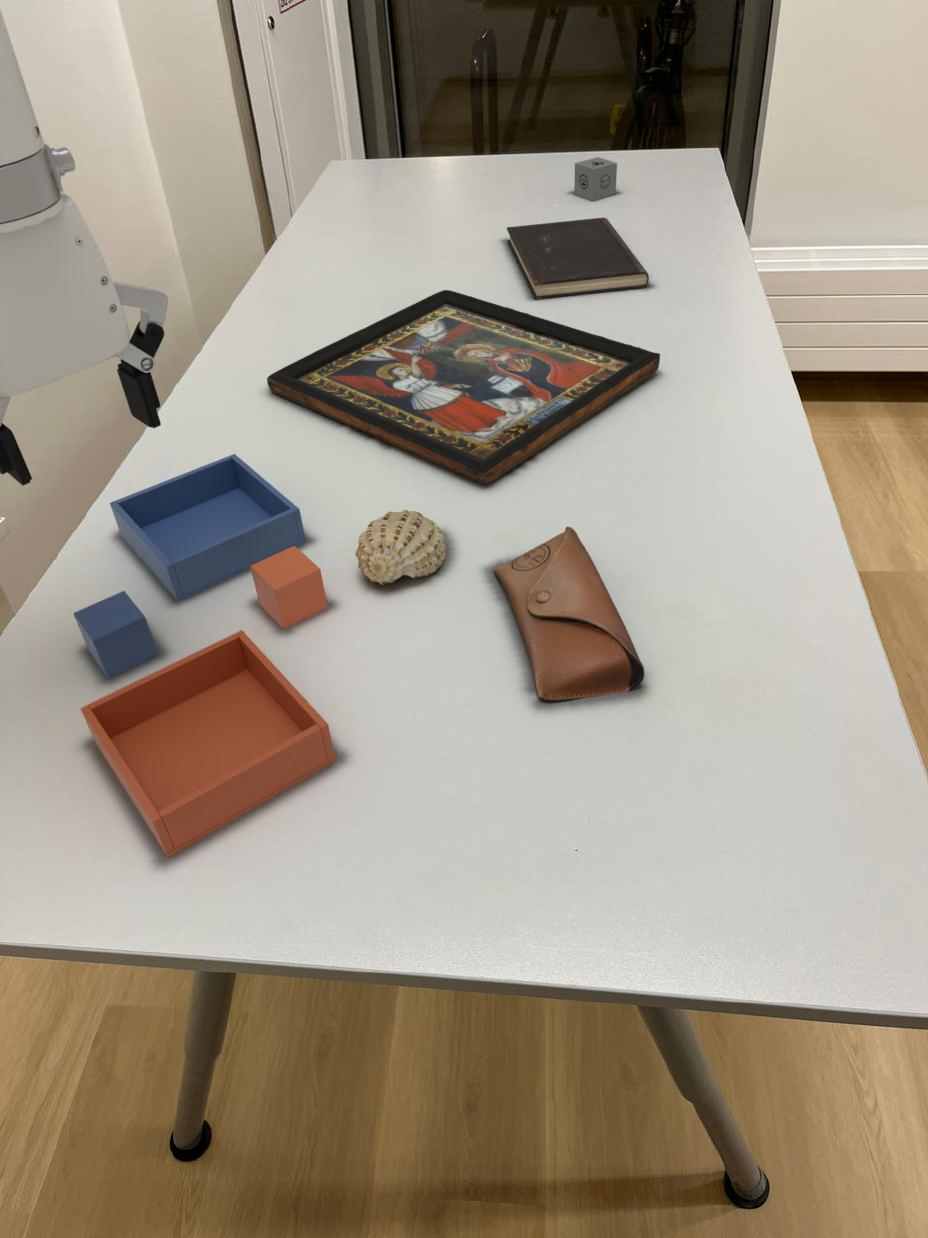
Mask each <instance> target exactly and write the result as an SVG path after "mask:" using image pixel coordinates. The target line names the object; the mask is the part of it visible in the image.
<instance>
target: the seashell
mask: <svg viewBox="0 0 928 1238" xmlns="http://www.w3.org/2000/svg"><path fill="white" fill-rule="evenodd" d="M357 542H358V547H357V548H356V550H355V557H356V559H357V561H358V569H360V570H361V574H362V575H365V576H366V577H367V578H368V579H369V580H370V582H371V583H377V584H379V585H382V586H384V585H386V584H392V583H394V582H395V581H397V580H398V579H400V578H401V577H402V576H408V577H410V578H413V579H415V578H420V577H426V576H429V575H431V574H433V573H435V572H436V571H437V570H438V569H440V567H441V566H442V565H443V563H444V562H445V559H446V555H447V545H446V541H445V536H444V534H443V533H442V531H441V528H440V526H439V525H438V524H437V523H436V522H435V521H433V520H432V519H430V518H428V517H426V516H424V515H423V514H422V513H421V512H420V511H416V510H411V511H409V510H407V509H404V510H401V511H388V512H386V513H385V514H384V515H383V516H380V517H379V518H377V519H374V520H372V521H370V522H369V523H368V525H367V528H366V529H365V530H364V531H363V532H362V533H361V534H360V535H359V537H358V540H357Z"/></svg>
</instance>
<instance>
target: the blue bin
mask: <svg viewBox="0 0 928 1238" xmlns="http://www.w3.org/2000/svg"><path fill="white" fill-rule="evenodd" d="M109 506H110V508H111V511H112V514H113V517H114V520H115V522H116V524H117V528H118V531H119V533H120V536H121V538H122V539H123V540H124V541H125V542H126V544H127V545H128V546H129V547H130V548H131V549H132V550H133V551H134V553H135V554H136V555H137V557H138V558H140V560H141V561H142V562H143V563H144V564H145V566H146V567H147V568H148V569H149V570H150V572H152V574H153V575H154V576H155V577H156V578H157V580H158V581H159V582H160V583H161V584H162V585H163V586H164V587H165V588H166V590H167V591H168V592H169V593H170V595H171V596H172V597H173V598H174V599H175V601H177V602H180V601H182V600H184V599H187V598H189V597H191V596H193V595H196V594H198V593H201V592H202V591H204V590H206V589H208V588H211V587H213V586H215V585H217V584H219V583H222V582H224V581H226V580H228V579H231V578H233V577H235V576H237V575H239V574H241V573H244V572H246V571H248V570H251V568H250V566H251V565H253V564H255V563H258V562H260V561H262V560H264V559H266V558H269V557H271V556H273V555H275V554H277V553H280V552H282V551H284V550H286V549H288V548H291V547H293V546H296V547H297V548H298V547H301V546H303V545H305V544H307V540H306V534H305V530H304V525H303V519H302V515H301V511H300V510H301V509H300V508H299V507H298V506H297V505H295V504H294V503H293V502H292V501H291V500H289V499H288V498H287V497H286V496H285V495H284V494H282V493H281V492H280V490H278V489H277V488H276V487H274V486H273V485H272V484H271V483H269V481H267V480H266V479H265V478H264V477H262V475H260V474H259V473H258V472H256V471H255V469H253V468H252V467H251V466H250V465H249V464H247V463H246V462H245V461H244V460H243V459H241V457H239V456H238V455H237V454H235V453H233V454H230V455H228V456H224V457H223V458H220V459H218V460H215V461H213V462H210V463H208V464H205V465H203V466H200V467H197V468H195V469H192V470H189V471H187V472H184V473H182V474H179V475H177V476H174V477H172V478H169V479H167V480H164V481H162V482H159V483H157V484H155V485H152V486H149V487H146V488H144V489H142V490H139V491H136V492H134V493H131V494H129V495H126V496H123V497H121V498H118V499H116V500H114V501H111V502H109Z"/></svg>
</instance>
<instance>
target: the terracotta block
mask: <svg viewBox="0 0 928 1238" xmlns="http://www.w3.org/2000/svg"><path fill="white" fill-rule="evenodd" d="M250 572H251V575H252V579H253V584H254V588H255V592H256V596H257V600H258V603H259V606H260V607H261V608H262V609H263V610H264V611H265V612H266V613H267V614H268V615H269V616H270V617H271V618H272V619H273V620H274V621H275V622H276V623H277V625H279V626H280V627H281V629H283V630H286V629H288V628H289V627H292V626H294V625H296V624H298V623H300V622H302V621H304V620H306V619H308V618H310V617H312V616H314V615H316V614H318V613H320V612H322V611H324V610H327V609H328V608H329V606H328V602H327V597H326V591H325V586H324V581H323V576H322V570H321V568H320V567H319V566H318V565H317V564H316V563H315V562H313V561H312V560H311V559H310V558H309V557H308V556H307V555H306V554H305V553H304V552H302V551H301V550H300V549H299V548H298V547H296V546H293V547H291V548H288V549H286V550H284V551H282V552H280V553H277V554H275V555H273V556H271V557H269V558H266V559H264V560H262V561H260V562H258V563H255V564H253V565H251V566H250Z"/></svg>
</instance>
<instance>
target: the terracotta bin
mask: <svg viewBox="0 0 928 1238" xmlns="http://www.w3.org/2000/svg"><path fill="white" fill-rule="evenodd" d="M80 712H81V714H82V716H83V719H84V720H85V723H86V725H87V727H88V729H89V731H90V733H91V735H92V737H93V740H94V743H95V745H96V746H97V747H98V749H99V751H100V752H101V754H102V756H103V757H104V759H105V761H106V762H107V764H108V765H109V767H110V768H111V770H112V772H113V773H114V775H115V776H116V778H117V779H118V781H119V782H120V784H121V786H122V787H123V789H124V790H125V792H126V794H127V795H128V797H129V798H130V800H131V801H132V803H133V805H134V806H135V808H136V810H137V811H138V812H139V814H140V816H141V817H142V819H143V821H144V822H145V824H146V825H147V827H148V828H149V830H150V832H151V833H152V835H153V837H154V838H155V839H156V841H157V843H158V844H159V846H160V848H161V849H162V851H163V853H164V854H165V855H166V857H167V858H170V857H172V856H174V855H175V854H177V853H179V852H181V851H182V850H184V849H186V848H187V847H189V846H191V845H192V844H194V843H196V842H198V841H200V840H201V839H203V838H205V837H207V836H208V835H210V834H212V833H213V832H215V831H217V830H219V829H220V828H222V827H224V826H226V825H227V824H229V823H231V822H232V821H234V820H236V819H238V818H240V817H241V816H243V815H244V814H246V813H248V812H249V811H252V810H253V809H255V808H257V807H258V806H260V805H262V804H263V803H266V802H267V801H269V800H270V799H272V798H274V797H275V796H277V795H279V794H280V793H282V792H284V791H286V790H288V789H290V788H291V787H293V786H295V785H297V784H298V783H300V782H301V781H303V780H305V779H307V778H308V777H310V776H312V775H313V774H315V773H317V772H319V771H321V770H322V769H324V768H326V767H327V766H329V765H331V764H333V763H335V762H336V761H337V759H336V754H335V750H334V745H333V740H332V736H331V731H330V727H329V724H328V722H327V721H326V720H325V719H324V718H323V717H322V716H321V714H320V713H318V711H317V710H316V709H315V708H314V707H313V706H312V705H311V704H310V703H309V701H308V700H306V698H305V697H304V696H303V694H301V692H299V691H298V689H297V688H295V686H294V685H293V684H292V683H291V682H290V681H289V679H287V678H286V676H285V675H284V674H283V673H282V672H281V671H280V670H279V668H278V667H276V666H275V664H274V663H273V662H272V661H271V659H269V658H268V657H267V656H266V654H265V653H264V652H263V651H262V650H261V649H260V648H259V647H258V646H257V644H255V642H253V640H252V639H251V638H250V637H249V636H248V635H247V634H246V633H245V631H244V630H242V629H241V630H239V631H237V632H235V633H233V634H231V635H229V636H227V637H224V638H222V639H221V640H219V641H216V642H214V643H211V644H210V645H208V646H206V647H204V648H202V649H200V650H198V651H196V652H194V653H192V654H190V655H187V656H185V657H183V658H181V659H179V660H177V661H175V662H173V663H171V664H169V665H166V666H165V667H162V668H160V669H158V670H157V671H154V672H152V673H151V674H149V675H146V676H144V677H142V678H140V679H137V680H136V681H134V682H132V683H130V684H127V685H125V686H124V687H122V688H119V689H117V690H115V691H112V692H110V693H109V694H107V695H105V696H103V697H101V698H98V699H96V700H94V701H92V702H91V703H88V704H87V705H84V706H82V707H81V708H80Z"/></svg>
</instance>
